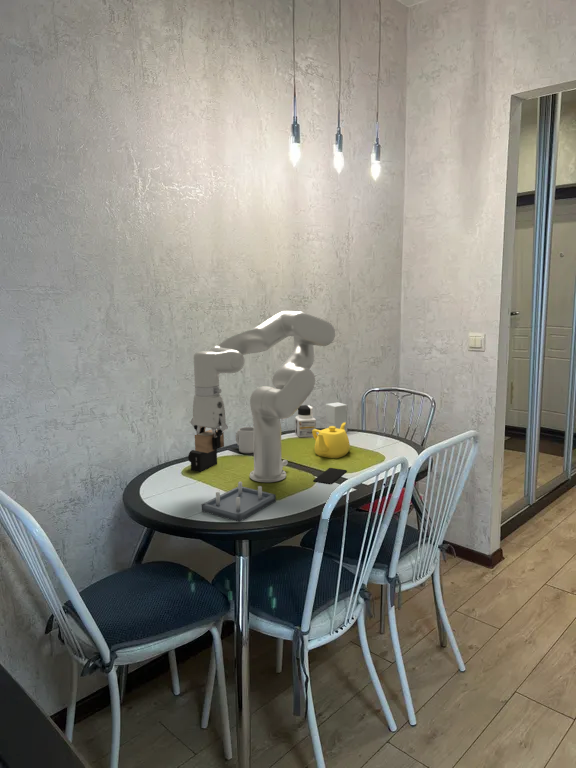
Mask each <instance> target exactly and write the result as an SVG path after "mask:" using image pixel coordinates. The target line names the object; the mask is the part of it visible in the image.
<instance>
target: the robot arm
mask: <svg viewBox="0 0 576 768" xmlns="http://www.w3.org/2000/svg"><path fill="white" fill-rule="evenodd" d="M288 337H293V349H292V352H291V353H290V355H289V356H287V358H286V359H285V360H284V361H283V363H282V364H281V365H280V366H279V367H278V368H277V369H276V370H275V372H274V374H273V375H272V378H271V379H272V381H271V382H272V385H273V386H274V387H272V386H266V385H263V386H258V387H256V388H255V389H254V390H253V391H252V393H251V394H250V398H249V405H250V411H251V417H252V423H253V425H252V427H253V437H254V453H253V470H252V471H250V473H249V479H251V480H252V481H255V482H260V483H275V482H280V481H282V480H285V479H286V477H287V472H286V471H285V470H283V468H284V467H285V466H287V465H288V463H289V462H288V460H287V459H283V460H282V423H281V420H286V419H289V418H290V417H292V416H293V415H294V414H295V413H296V411H297V412H298V408H299V407H300V406H302V404H303V403H304V402H306V400H307V398H308V397H309V396H310V395H311V394H312V392H313V390H314V388H315V385H316V376H315V374H314V373H313V371H312V370H311V367H313V364H314V363H315V350H314V346H317V347H326V346H328V345H330V344H332V343H333V342H334V340H335V338H336V329H335V328H334V326H333V324H332V323H330V322H329V321H327V320H324V319H323V318H322V319H321V318H319V317H317V316H314V315H313V314H309V313H307V312H304V311H297V310H282V311H279V312H278V313H275V314H274V315H273V316H271V317H269V318H268V319H266V320H264V321H263V322H261V323H260V324H258V325H256V326H254V327H252V328H251V329H247V330H245V331H243V332H239V333H237V334H235V335H232V336H230V337H227V338H225V339H224V340H222V341H220V342H218V343H217V344H215V345H214V346H213V347H211V348H210V349H209V350H202V351H196V352H195V353H194V354H193V373H194V374H193V375H194V377H193V378H194V396H193V404H192V419H191V420H190V421H189V423H190V425H191V426H192V427H193V428H194V430H195V433H196V435H197V434H199V433H202V432H205V431H206V428H208V429H210V430H211V429H212V432H213V436H214V437H213V438H212V446H213V450H216V449H217V450H218V449H221V448H222V447H221V442H220V436H222V434H223V433H224V434H225V432H226V431H227V430H228V429H229V426H228V424H227V423H226V422H227V421H226V420H227V419H226V408H225V403H224V399H223V396H222V394H221V393H222V389H221V388H220V374H237V373H238V372H240V371H241V370H242V369H243V367H244V366H245V358H244V356H246V355H248V354H249V355H250V354H259V353H262V352H267V351H268V350H270V349H271V348H272V347H274V346H275V345H278V343H280V342H282V341H283V340H285V339H286V338H288ZM216 430H217V432H216ZM220 447H221V448H220Z"/></svg>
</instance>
